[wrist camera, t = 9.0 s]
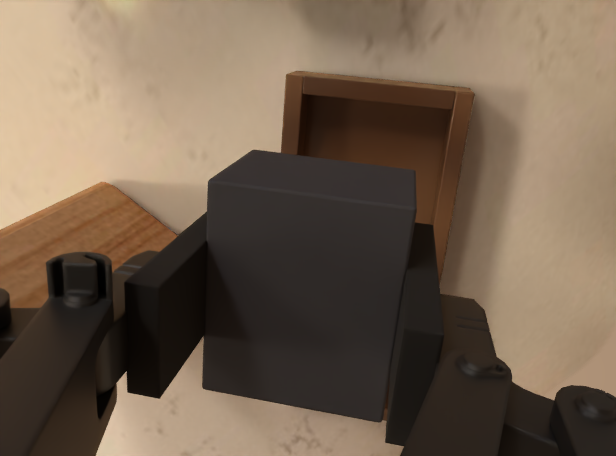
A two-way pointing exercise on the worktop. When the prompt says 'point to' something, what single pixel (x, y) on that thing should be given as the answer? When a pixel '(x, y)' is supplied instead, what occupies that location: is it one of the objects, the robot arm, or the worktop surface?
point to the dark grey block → (306, 280)
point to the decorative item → (74, 239)
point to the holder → (385, 134)
